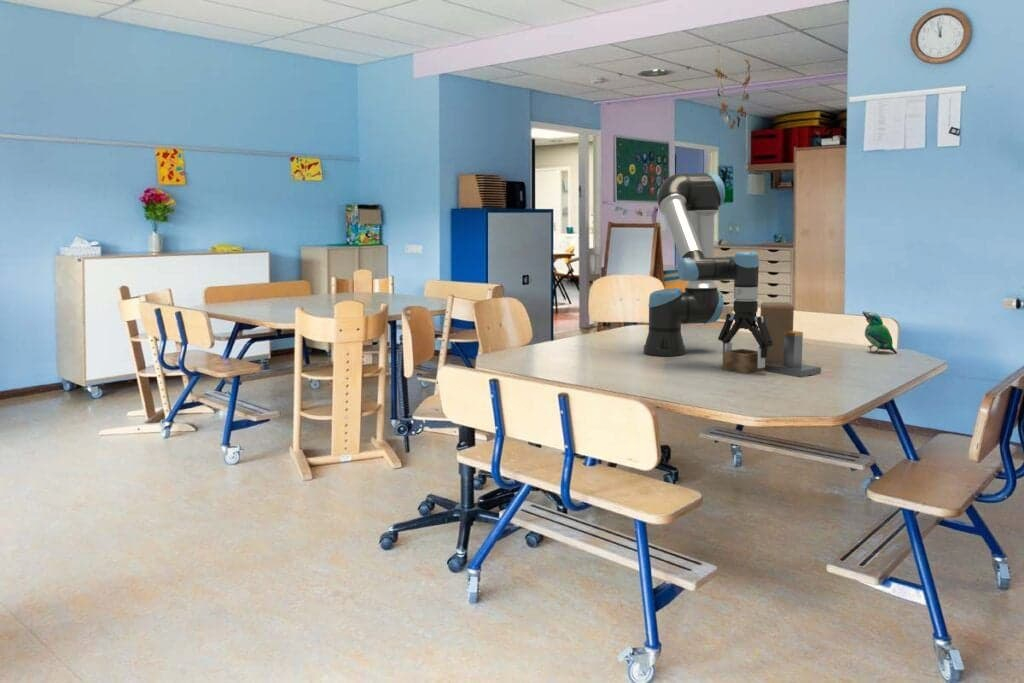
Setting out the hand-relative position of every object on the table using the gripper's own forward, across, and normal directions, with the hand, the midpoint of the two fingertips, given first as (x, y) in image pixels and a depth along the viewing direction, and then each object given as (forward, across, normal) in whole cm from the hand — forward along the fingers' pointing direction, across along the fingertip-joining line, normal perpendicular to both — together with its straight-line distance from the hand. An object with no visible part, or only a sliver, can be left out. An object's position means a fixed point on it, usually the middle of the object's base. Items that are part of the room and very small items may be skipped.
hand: (744, 365), depth 276 cm
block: (+2, -4, +21) cm, 22 cm away
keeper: (+2, +12, +9) cm, 15 cm away
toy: (+2, +7, +64) cm, 65 cm away
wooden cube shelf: (+2, 0, 0) cm, 2 cm away
